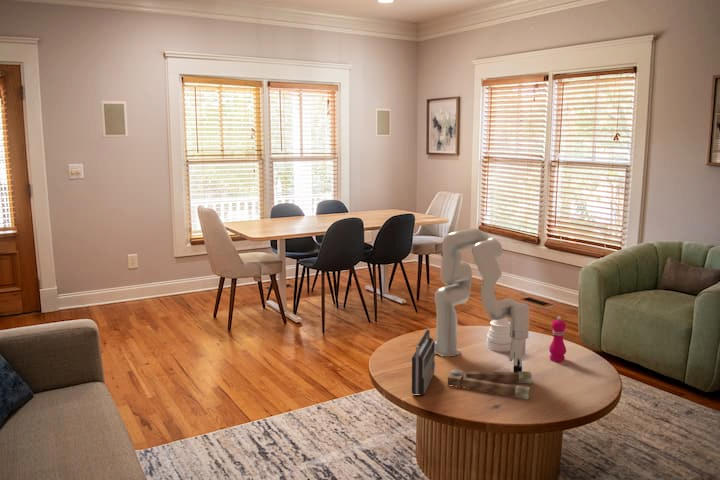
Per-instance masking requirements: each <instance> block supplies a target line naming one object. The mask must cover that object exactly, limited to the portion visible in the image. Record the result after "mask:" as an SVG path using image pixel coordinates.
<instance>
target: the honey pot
mask: <svg viewBox="0 0 720 480" xmlns="http://www.w3.org/2000/svg"><path fill="white" fill-rule="evenodd" d="M489 324H490V327H489V330H488V332H487V334H486V348H488V349H489V350H492V351H496V352H510V345H511V337H510V336H509V335H510V320H509V319H508V317H507V318H503V319H500V320H493V319H492V320H491V321H490V322H489Z"/></svg>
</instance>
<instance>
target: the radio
mask: <svg viewBox="0 0 720 480" xmlns="http://www.w3.org/2000/svg"><path fill="white" fill-rule="evenodd" d="M430 330H431V329H430V328H427V329H426V330H425V333H424V334H423V336H422V337H421V338H420V341H419V342H418V344H417V345H416V346H415V352H414V354H413V355H412V357H411V394H412V393H413V394H420V395H422V396H423V395H425V392H426V391H427V390H428V386H429V385H430V383H431V381H432V378H433V376H434V374H435V368H436V361H435V357H436V354H435V341H436V339H434V338H432V337H430V335H431V332H430Z"/></svg>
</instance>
